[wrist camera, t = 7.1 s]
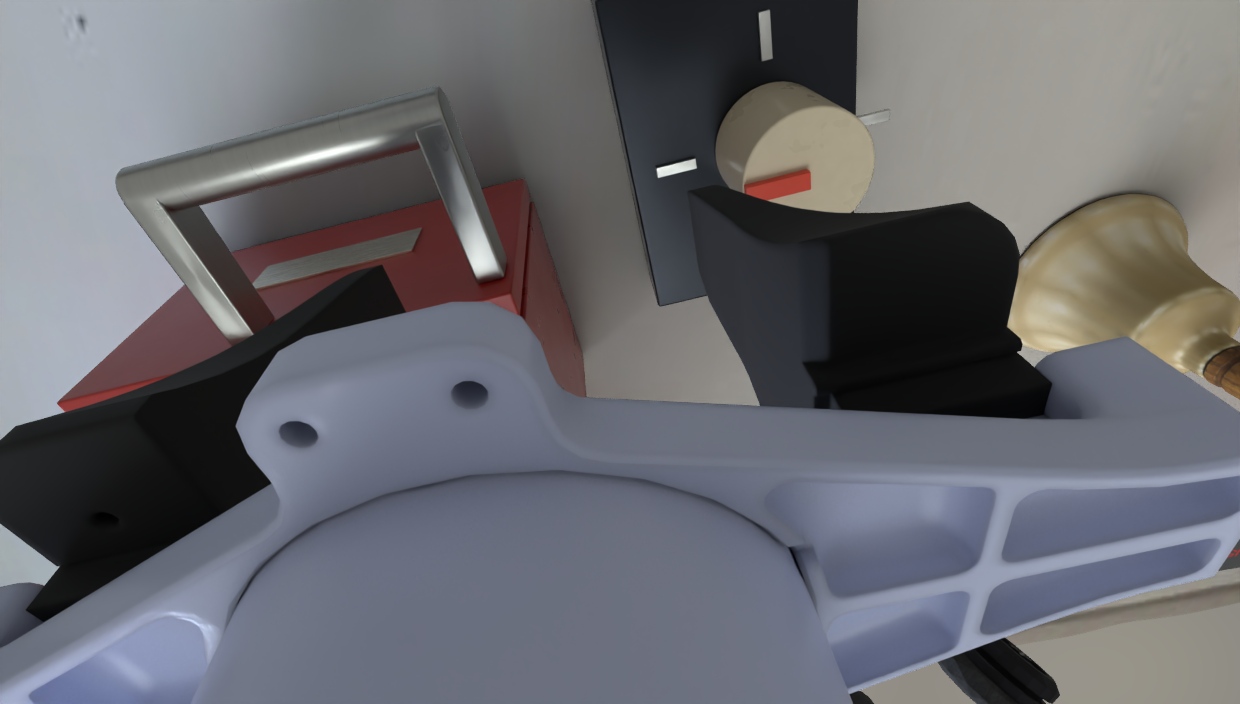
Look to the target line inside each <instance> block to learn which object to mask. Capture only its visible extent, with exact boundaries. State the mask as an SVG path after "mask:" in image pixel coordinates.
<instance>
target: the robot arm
mask: <svg viewBox="0 0 1240 704" xmlns="http://www.w3.org/2000/svg"><path fill="white" fill-rule="evenodd" d="M687 193H688V200H689V207H690V214H691V221H692V227H693V234H694V241H695V248H696V255H697V261H698V268H699V272H700V275H701V278H702V281H703V284H704V287H705V290H706V293H707V295H708V298H709V301H710V303H711V305H712V307H713V309H714V310H715V312H716V314H717V316H718V318H719V320H720V322H721V324H722V325H723V327H724V329H725V331H726V333H727V335H728V336H729V338H730V340H731V342H732V344H733V346H734V347H735V349H736V351H737V353H738V355H739V357H740V358H741V360H742V362H743V364H744V366H745V368H746V371H747V373H748V375H749V377H750V380H751V382H752V385H753V388H754V390H755V393H756V395H757V398H758V401H759V403H760V406H750V405H729V404H709V403H688V402H668V401H647V400H627V399H606V398H586V397H578V396H576V395H573V394H571V393H569V392H567V391H565V390H563V389H562V388H561V387H560V386H559V385H558V384H557V382H556V380H555V378H554V376H553V375H552V373H551V371H550V368H549V365H548V362H547V360H546V357H545V354H544V351H543V348H542V346H541V343H540V341H539V340H538V338H537V337H536V336H535V334H534V333H533V332H532V330H531V329H530V328H529V326H528V325H527V323H526V322H525V321H524V319H523V318H522V317H521V316H519V315H516V314H514V313H512V312H510V311H508V310H506V309H504V308H502V307H499V306H497V305H495V304H493V303H491V302H449V303H445V304H441V305H437V306H432V307H428V308H424V309H420V310H415V311H411V312H407V313H406V311H405V309H404V307H403V305H402V303H401V301H400V299H399V297H398V295H397V293H396V291H395V289H394V287H393V285H392V283H391V281H390V279H389V277H388V275H387V273H386V271H385V269H384V267H383V265H378V266H374V267H370V268H366V269H361V270H357V271H355V272H352V273H350V274H348V275H346V276H344V277H342V278H340V279H338V280H337V281H335V282H333V283H332V284H330V285H329V286H327V287H326V288H324V289H323V290H321V291H320V292H318V293H317V294H315V295H314V296H312V297H311V298H309V299H308V300H306V301H305V302H303V303H302V304H300V305H299V306H297V307H296V308H294V309H293V310H291V311H290V312H288V313H287V314H285V315H284V316H282V317H280V318H279V319H277V320H276V321H274V322H273V323H271V324H270V325H268V326H266V327H265V328H263V329H262V330H260V331H259V332H257V333H255V334H253V335H252V336H250V337H248V338H247V339H245V340H243V341H241V342H239V343H238V344H236V345H234V346H232V347H230V348H228V349H226V350H224V351H222V352H221V353H219V354H217V355H215V356H213V357H211V358H209V359H206V360H204V361H202V362H200V363H197V364H195V365H193V366H191V367H188V368H186V369H184V370H182V371H179V372H177V373H175V374H173V375H170V376H168V377H166V378H163V379H161V380H159V381H156V382H153V383H151V384H148V385H146V386H143V387H140V388H138V389H135V390H132V391H129V392H127V393H124V394H121V395H118V396H115V397H112V398H110V399H107V400H103V401H100V402H97V403H94V404H91V405H88V406H84V407H81V408H78V409H74V410H71V411H68V412H64V413H61V414H57V415H54V416H51V417H47V418H44V419H40V420H37V421H33V422H29V423H26V424H22V425H19V426H15V427H14V428H13V429H12V430H11V431H10V432H9V433H8V434H7V435H6V436H5V437H3V438H2V439H1V440H0V524H2V525H3V526H4V527H6V528H7V529H8V530H10V531H11V532H12V533H14V534H15V535H16V536H18V537H19V538H20V539H22V540H23V541H24V542H25V543H27V544H28V545H29V546H31V547H32V548H33V549H35V550H36V551H37V552H39V553H40V554H41V555H43V556H44V557H45V558H47V559H48V560H49V561H51V562H52V563H53V564H55V565H56V566H60V567H59V568H58V570H57V571H56V572H55V573H54V575H53V576H52V577H51V578H50V580H49V581H48V582H47V583H46V585H45V586H43V585H40V584H35V583H17V584H12V585H7V586H3V587H0V704H853V702H852V700H851V697H850V695H849V694H851V693H854V692H856V691H859V690H862V689H864V688H867V687H870V686H873V685H875V684H878V683H881V682H884V681H886V680H889V679H892V678H895V677H897V676H900V675H903V674H906V673H908V672H911V671H914V670H917V669H919V668H922V667H925V666H928V665H930V664H933V663H936V662H939V661H941V660H944V659H947V658H949V657H952V656H955V655H958V654H960V653H963V652H966V651H969V650H971V649H974V648H977V647H980V646H982V645H985V644H988V643H991V642H993V641H996V640H999V639H1001V638H1004V637H1007V636H1010V635H1012V634H1015V633H1018V632H1021V631H1023V630H1026V629H1029V628H1032V627H1035V626H1038V625H1041V624H1043V623H1046V622H1049V621H1052V620H1055V619H1058V618H1061V617H1064V616H1067V615H1070V614H1073V613H1076V612H1079V611H1082V610H1085V609H1088V608H1092V607H1095V606H1099V605H1102V604H1106V603H1109V602H1113V601H1116V600H1120V599H1123V598H1127V597H1130V596H1134V595H1137V594H1141V593H1145V592H1149V591H1153V590H1158V589H1162V588H1166V587H1171V586H1175V585H1179V584H1184V583H1188V582H1192V581H1196V580H1201V579H1206V578H1210V577H1213V576H1214V575H1216V573H1217V572H1218V570H1219V569H1220V567H1221V566H1222V564H1223V563H1224V561H1225V560H1226V558H1227V557H1228V555H1229V554H1230V552H1231V551H1232V550H1233V548H1234V547H1235V545H1236V544H1237V542H1238V541H1239V539H1240V412H1239V411H1237V410H1236V409H1234V408H1233V407H1232V406H1230V405H1229V404H1227V403H1226V402H1224V401H1223V400H1221V399H1220V398H1218V397H1217V396H1215V395H1214V394H1212V393H1211V392H1209V391H1208V390H1206V389H1205V388H1203V387H1202V386H1200V385H1199V384H1197V383H1196V382H1194V381H1193V380H1192V379H1190V378H1189V377H1187V376H1186V375H1184V374H1183V373H1181V372H1180V371H1178V370H1177V369H1175V368H1174V367H1172V366H1171V365H1169V364H1168V363H1166V362H1165V361H1163V360H1162V359H1160V358H1159V357H1157V356H1156V355H1155V354H1153V353H1152V352H1150V351H1149V350H1147V349H1146V348H1144V347H1143V346H1141V345H1140V344H1138V343H1137V342H1135V341H1134V340H1132V339H1131V338H1129V337H1119V338H1115V339H1111V340H1106V341H1102V342H1097V343H1093V344H1088V345H1084V346H1079V347H1075V348H1070V349H1066V350H1061V351H1057V352H1055V353H1052V354H1050V355H1048V356H1046V357H1045V358H1043V359H1042V360H1041V361H1040V362H1039V363H1037V364H1036V366H1035V368H1034V367H1033V366H1032V365H1031V364H1030V363H1029V362H1027V361H1026V360H1025V359H1024V358H1023V357H1022V356H1020V355H1019V354H1018V353H1017V352H1018V351H1021V348H1022V341H1021V338H1020V337H1019V336H1017V335H1016V334H1015V333H1014V332H1013V331H1011V330H1010V329H1009V328H1008V327H1007V325H1008V320H1009V315H1010V311H1011V306H1012V302H1013V297H1014V292H1015V288H1016V283H1017V279H1018V274H1019V259H1020V254H1019V250H1018V247H1017V243H1016V240H1015V237H1014V236H1013V234H1012V233H1011V232H1010V231H1009V229H1008V228H1007V227H1006V226H1005V224H1004V223H1002V222H1001V221H999V220H997V219H996V218H994V217H993V216H991V215H989V214H988V213H986V212H985V211H983V210H981V209H980V208H978V207H977V206H975V205H973V204H972V203H970V202H964V203H957V204H951V205H945V206H938V207H932V208H926V209H919V210H911V211H898V212H886V213H836V212H824V211H816V210H808V209H801V208H796V207H791V206H787V205H782V204H778V203H774V202H770V201H767V200H763V199H760V198H757V197H754V196H751V195H748V194H745V193H742V192H739V191H736V190H733V189H730V188H727V187H724V186H720V185H710V186H706V187H702V188H698V189H694V190H690V191H687Z"/></svg>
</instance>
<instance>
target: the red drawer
mask: <svg viewBox="0 0 1240 704" xmlns="http://www.w3.org/2000/svg"><path fill="white" fill-rule="evenodd" d="M417 149H421V151H422V153H423V156H424V158H425V161H426V163H427V165H428V168H429V170H430V173H431V175H432V177H433V180H434V182H435V185H436V187H437V189H438V192H439V194H440V197H441V199H440V200H436V201H432V202H428V203H424V204H420V205H416V206H412V207H408V208H404V209H400V210H396V211H392V212H388V213H384V214H381V215H377V216H373V217H369V218H365V219H361V220H357V221H353V222H349V223H345V224H341V225H337V226H333V227H329V228H325V229H321V230H317V231H313V232H309V233H305V234H301V235H297V236H294V237H290V238H286V239H282V240H278V241H274V242H270V243H266V244H262V245H258V246H254V247H250V248H246V249H242V250H238V251H234V252H230V251H229V249H228V248H227V246H226V245H225V243H224V242H223V240H222V239H221V237H220V236H219V234H218V233H217V231H216V230H215V228H214V227H213V225H212V224H211V222H210V221H209V220H208V218H207V217H206V215H205V214H204V212H203V211H202V209H201V208H200V206H199V205H203V204H207V203H211V202H215V201H219V200H223V199H227V198H231V197H234V196H238V195H242V194H246V193H250V192H254V191H258V190H262V189H265V188H269V187H273V186H277V185H281V184H285V183H289V182H293V181H297V180H300V179H304V178H308V177H312V176H316V175H320V174H324V173H328V172H331V171H335V170H339V169H343V168H347V167H351V166H355V165H359V164H363V163H366V162H370V161H374V160H378V159H382V158H386V157H390V156H394V155H397V154H401V153H405V152H409V151H413V150H417ZM115 183H116V188H117V191H118V194H119V196H120V197H121V199H122V200H123V202H124V205H125V206H126V207H127V209H128V210H129V211H130V212H131V214H132V215H133V216H134V218H135V219H136V220H137V222H138V223H139V224H140V226H141V227H142V228H143V230H144V231H145V232H146V234H147V235H148V236H149V238H150V239H151V240H152V242H153V243H154V244H155V246H156V247H157V248H158V250H159V251H160V252H161V253H162V255H163V256H164V257H165V259H166V260H167V261H168V263H169V264H170V265H171V267H172V268H173V269H174V271H175V272H176V273H177V275H178V276H179V277H180V279H181V280H182V281H183V283H184V284H185V285H184V286H183V287H182V288H181V289H179V290H178V291H177V292H176V293H175V294H174V295H173V296H172V297H171V298H170V299H169V300H168V301H167V302H165V303H164V304H163V305H162V306H161V307H160V308H159V309H158V310H157V311H156V312H155V313H154V314H152V315H151V316H150V317H149V318H148V319H147V320H146V321H145V322H144V323H143V324H142V325H141V326H139V327H138V328H137V329H136V330H135V331H134V332H133V333H132V334H131V335H130V336H129V337H128V338H126V339H125V340H124V341H123V342H122V343H121V344H120V345H119V346H118V347H117V348H116V349H115V350H113V351H112V352H111V353H110V354H109V355H108V356H107V357H106V358H105V359H104V360H103V361H102V362H100V363H99V364H98V365H97V366H96V367H95V368H94V369H93V370H92V371H91V372H90V373H89V374H87V375H86V376H85V377H84V378H83V379H82V380H81V381H80V382H79V383H78V384H77V385H76V386H74V387H73V388H72V389H71V390H70V391H69V392H68V393H67V394H66V395H65V396H64V397H63V398H61V399H60V400H59V401H58V402H57V404H58V405H59V406H60V407H61V408H62V409H63V410H64V411H65V412H68V411H71V410H74V409H78V408H81V407H84V406H88V405H91V404H94V403H97V402H100V401H103V400H107V399H110V398H112V397H115V396H118V395H121V394H124V393H127V392H129V391H132V390H135V389H138V388H140V387H143V386H146V385H148V384H151V383H153V382H156V381H159V380H161V379H163V378H166V377H168V376H170V375H173V374H175V373H177V372H179V371H182V370H184V369H186V368H188V367H191V366H193V365H195V364H197V363H200V362H202V361H204V360H206V359H209V358H211V357H213V356H215V355H217V354H219V353H221V352H222V351H224V350H226V349H228V348H230V347H232V346H234V345H236V344H238V343H239V342H241V341H243V340H245V339H247V338H248V337H250V336H252V335H253V334H255V333H257V332H259V331H260V330H262V329H263V328H265V327H266V326H268V325H270V324H271V323H273V322H274V321H276V320H277V319H279V318H280V317H282V316H284V315H285V314H287V313H288V312H290V311H291V310H293V309H294V308H296V307H297V306H299V305H300V304H302V303H303V302H305V301H306V300H308V299H309V298H311V297H312V296H314V295H315V294H317V293H318V292H320V291H321V290H323V289H324V288H326V287H327V286H329V285H330V284H332V283H333V282H335V281H337V280H338V279H340V278H342V277H344V276H346V275H348V274H350V273H352V272H355V271H357V270H361V269H366V268H370V267H374V266H378V265H383V267H384V269H385V271H386V273H387V275H388V277H389V279H390V281H391V283H392V285H393V287H394V289H395V291H396V293H397V295H398V297H399V299H400V301H401V303H402V305H403V307H404V309H405V311H406V313H407V312H411V311H415V310H420V309H424V308H428V307H432V306H437V305H441V304H445V303H449V302H491V303H493V304H495V305H497V306H499V307H502V308H504V309H506V310H508V311H510V312H512V313H514V314H516V315H519V316H520V309H521V297H522V285H523V274H524V262H525V251H526V239H527V227H528V216H529V204H530V194H529V191H528V188H527V185H526V181H525V179H519V180H515V181H511V182H507V183H503V184H499V185H495V186H491V187H487V188H483V189H481V187H480V184H479V181H478V179H477V176H476V173H475V170H474V168H473V165H472V162H471V160H470V157H469V154H468V152H467V149H466V146H465V143H464V141H463V138H462V135H461V133H460V130H459V127H458V125H457V122H456V119H455V116H454V114H453V111H452V108H451V106H450V103H449V101H448V99H447V97H446V95H445V93H444V92H443V90H442V89H441V88H440V87H437V86H434V87H430V88H426V89H422V90H418V91H415V92H411V93H407V94H403V95H399V96H396V97H392V98H388V99H384V100H380V101H377V102H373V103H369V104H365V105H361V106H358V107H354V108H350V109H346V110H342V111H338V112H335V113H331V114H327V115H323V116H319V117H316V118H312V119H308V120H304V121H300V122H297V123H293V124H289V125H285V126H281V127H278V128H274V129H270V130H266V131H262V132H258V133H255V134H251V135H247V136H243V137H239V138H236V139H232V140H228V141H224V142H220V143H217V144H213V145H209V146H205V147H201V148H198V149H194V150H190V151H186V152H182V153H178V154H175V155H171V156H167V157H163V158H159V159H156V160H152V161H148V162H144V163H140V164H137V165H133V166H129V167H125V168H123V169H121V170H120V171H119V172H118V173H117V175H116V179H115Z"/></svg>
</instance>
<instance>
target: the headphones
mask: <svg viewBox="0 0 1240 704" xmlns="http://www.w3.org/2000/svg"><path fill="white" fill-rule="evenodd" d="M938 663H939V665H940V666H941V668H942V670H943V671H944V672H945V673H946V674H947V675H948V676H949V677H950V678H951V679H952V680H953V681H954V683H955V684H956V685H957V686H958V687H959V688H960V689H961V690H962V691H963V692H964V693H965V694H966V695H968V696H969V697H970V698H971V699H972V700H973V701H974V702H976V704H1046V703H1045V702H1044V701H1043V700H1042V699H1044V700H1046V701H1047V702H1049V703H1053V702H1054V701H1055V700H1056V699H1057V698H1058V697H1059V696H1060V694H1059V691H1058V688H1057V685H1056V683H1055V681H1054V680H1053V679H1052V677H1051V676H1049V675H1048V674H1047V673H1046V672H1045V671H1044V670H1043V669H1042V668H1041V667H1040V666H1039V665H1037V664H1036V663H1035V662H1034V661H1033V660H1032V659H1031V658H1029V657H1028V656H1027V655H1026V654H1024V653H1023V652H1022V651H1021V650H1020V649H1019V648H1017V647H1016V646H1015V645H1014V644H1013V643H1011V642H1010V641H1009V640H1007V639H1006V638H1005V637H1004V638H1001V639H999V640H996V641H993V642H991V643H988V644H985V645H982V646H980V647H977V648H974V649H971V650H969V651H966V652H963V653H960V654H958V655H955V656H952V657H949V658H947V659H944V660H941V661H939V662H938ZM849 695H850V697H851V700H852V702H853V704H874V703H873V702H872V700H871V699H870V698H869V697H868V696H867V695H865V694H864V693H863V692H861V691H856V692H854V693H851V694H849Z"/></svg>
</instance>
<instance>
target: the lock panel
mask: <svg viewBox="0 0 1240 704" xmlns="http://www.w3.org/2000/svg"><path fill="white" fill-rule="evenodd" d="M591 3H592V8H593V12H594V17H595V22H596V26H597V31H598V36H599V40H600V45H601V50H602V54H603V59H604V64H605V68H606V73H607V78H608V83H609V87H610V92H611V97H612V101H613V106H614V111H615V115H616V120H617V125H618V129H619V134H620V139H621V143H622V148H623V153H624V157H625V162H626V167H627V172H628V176H629V181H630V186H631V190H632V195H633V200H634V204H635V209H636V214H637V218H638V223H639V228H640V232H641V237H642V242H643V246H644V251H645V256H646V260H647V265H648V270H649V275H650V279H651V282H652V286H653V289H654V292H655V296H656V299H657V303H658V305H659V306H665V305H669V304H673V303H678V302H682V301H686V300H690V299H694V298H699V297H703V296H707V293H706V290H705V287H704V284H703V281H702V278H701V275H700V272H699V268H698V261H697V255H696V248H695V241H694V234H693V227H692V221H691V214H690V207H689V200H688V193H687V191H690V190H694V189H698V188H702V187H706V186H710V185H720V186H724V187H727V188H729V187H728V185H727V184H726V183H725V181H724V180H723V178H722V176H721V174H720V172H719V169H718V167H717V162H716V153H715V149H716V140H717V135H718V132H719V129H720V126H721V124H722V122H723V120H724V118H725V116H726V115H727V113H728V112H729V110H730V109H731V108H732V106H733V105H734V104H735V103H736V102H737V101H738V100H739V99H740V98H742V97H743V96H744V95H745V94H747V93H748V92H750V91H751V90H753V89H755V88H757V87H759V86H762V85H765V84H768V83H772V82H783V81H784V82H793V83H796V84H800V85H802V86H804V87H806V88H808V89H810V90H812V91H813V92H815V93H817V94H819V95H821V96H822V97H824V98H826V99H828V100H830V101H831V102H833V103H835V104H837V105H839V106H840V107H842V108H844V109H846V110H847V111H849V112H851V113H852V114H854V115H855V116H856V66H857V15H858V0H591ZM857 117H858V118H859V119H860V120H861V121H862V122H863V124H864V125H865V126H868V125H872V124H876V123H880V122H884V121H888V120H890V109H885V110H881V111H877V112H873V113H869V114H865V115H861V116H857ZM851 213H854V210H853V211H852V212H851Z"/></svg>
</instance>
